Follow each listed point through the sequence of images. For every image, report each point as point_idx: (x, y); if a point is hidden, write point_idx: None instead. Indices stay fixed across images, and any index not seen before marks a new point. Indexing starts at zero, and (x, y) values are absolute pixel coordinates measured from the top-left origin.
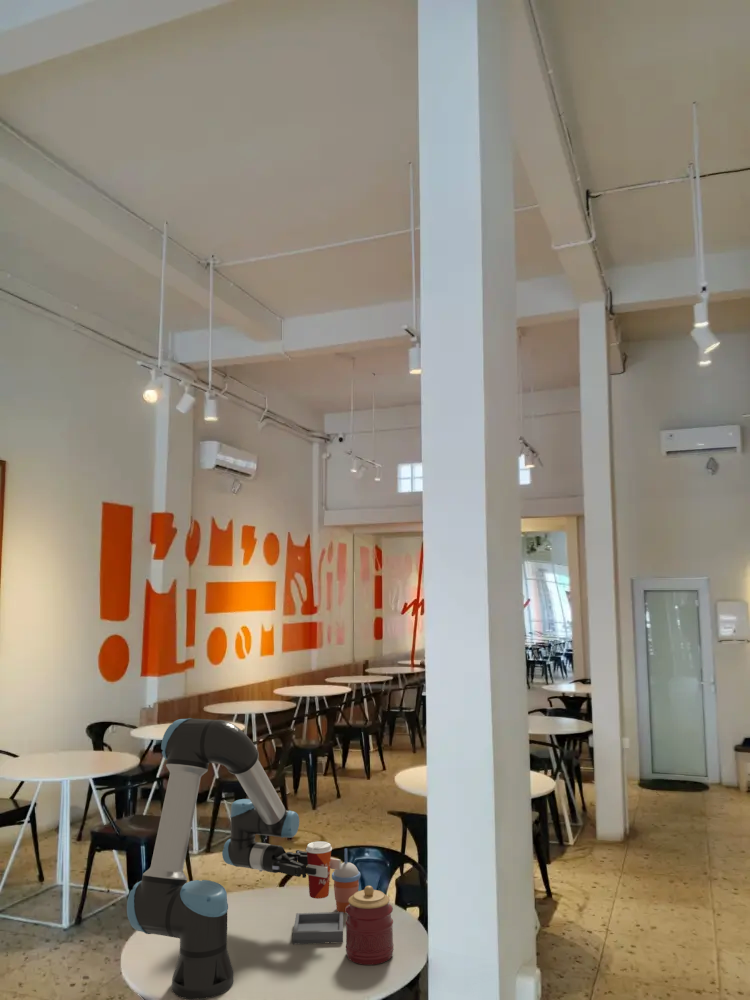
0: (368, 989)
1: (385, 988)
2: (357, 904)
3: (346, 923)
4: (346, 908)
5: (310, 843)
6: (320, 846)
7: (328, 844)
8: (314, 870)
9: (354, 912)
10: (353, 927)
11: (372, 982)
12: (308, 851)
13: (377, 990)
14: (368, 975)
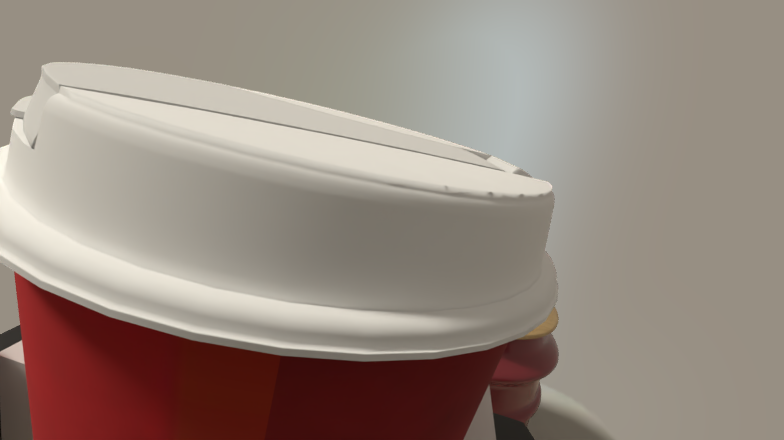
0: (596, 427)
1: (563, 395)
2: (553, 308)
3: (518, 417)
4: (523, 371)
5: (226, 129)
6: (416, 137)
7: (300, 102)
8: (518, 429)
9: (550, 342)
10: (537, 390)
11: (562, 422)
12: (555, 292)
13: (584, 409)
14: (538, 434)
